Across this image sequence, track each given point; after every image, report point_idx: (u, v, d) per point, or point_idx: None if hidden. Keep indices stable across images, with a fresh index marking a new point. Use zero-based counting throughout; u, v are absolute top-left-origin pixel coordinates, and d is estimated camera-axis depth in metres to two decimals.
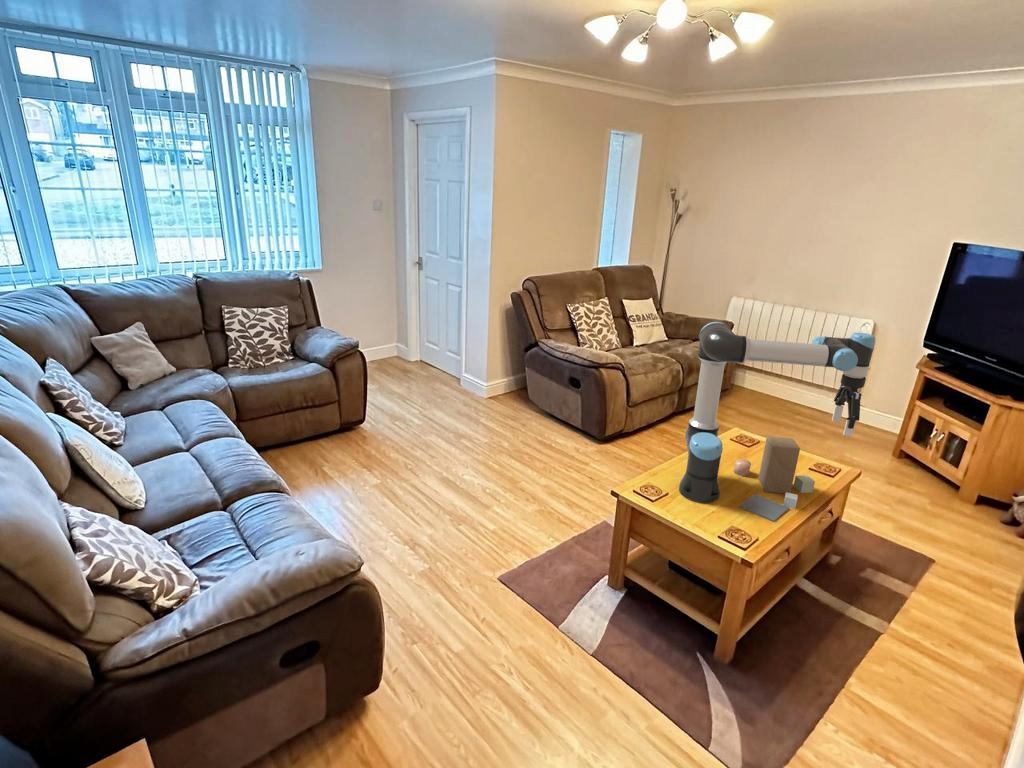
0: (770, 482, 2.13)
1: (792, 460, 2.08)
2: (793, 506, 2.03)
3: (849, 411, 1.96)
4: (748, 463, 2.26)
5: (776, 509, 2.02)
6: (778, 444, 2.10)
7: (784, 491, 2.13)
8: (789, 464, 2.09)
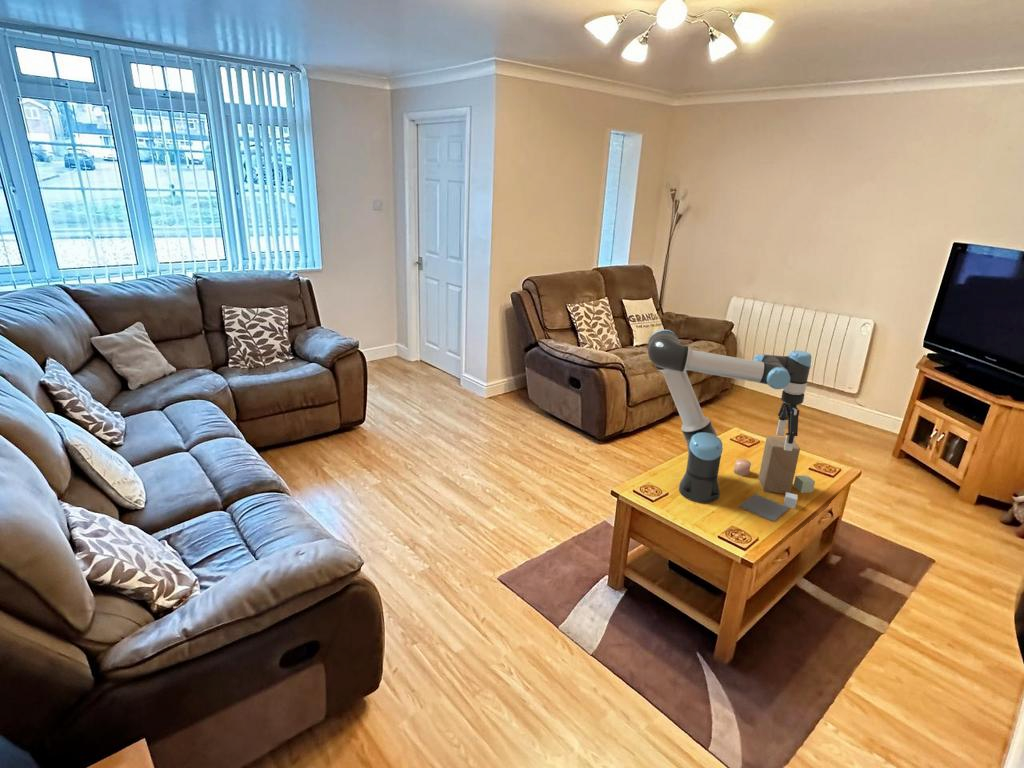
0: (770, 482, 2.13)
1: (792, 460, 2.08)
2: (793, 506, 2.03)
3: (788, 426, 2.03)
4: (748, 463, 2.26)
5: (776, 509, 2.02)
6: (778, 444, 2.10)
7: (784, 491, 2.13)
8: (789, 464, 2.09)
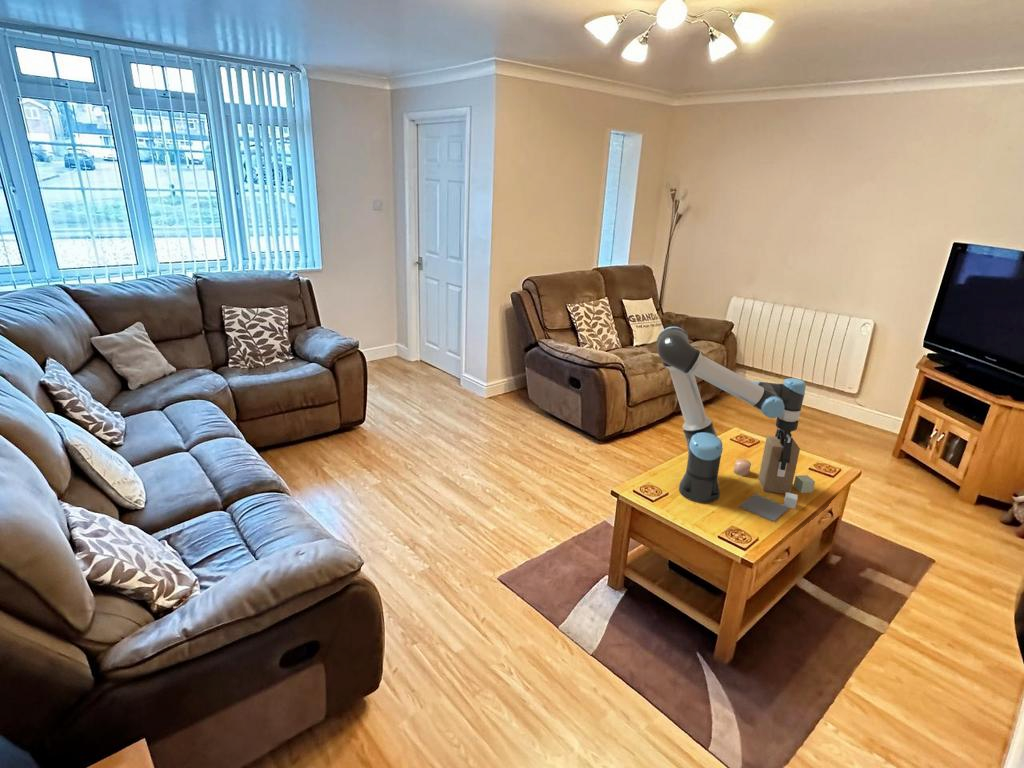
0: (770, 482, 2.13)
1: (792, 460, 2.08)
2: (793, 506, 2.03)
3: (781, 453, 2.08)
4: (748, 463, 2.26)
5: (776, 509, 2.02)
6: (778, 444, 2.10)
7: (784, 491, 2.13)
8: (789, 464, 2.09)
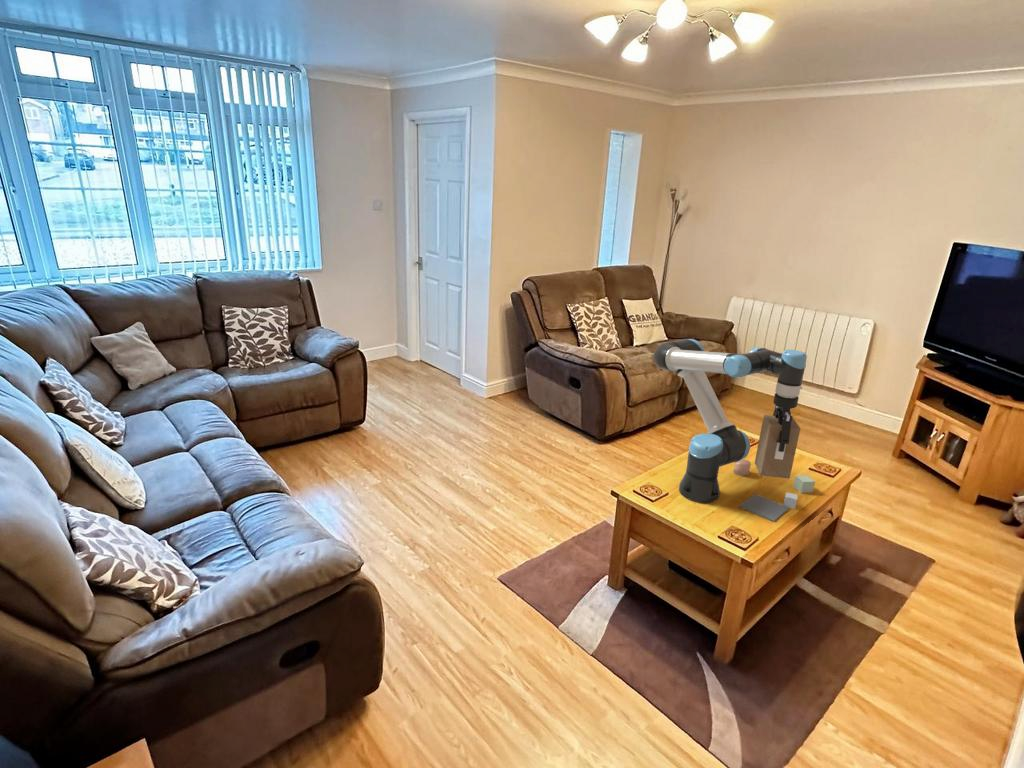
0: (768, 466, 1.93)
1: (791, 441, 1.88)
2: (793, 506, 2.03)
3: (780, 433, 1.88)
4: (748, 463, 2.26)
5: (776, 509, 2.02)
6: (776, 423, 1.89)
7: (783, 475, 1.93)
8: (789, 445, 1.89)
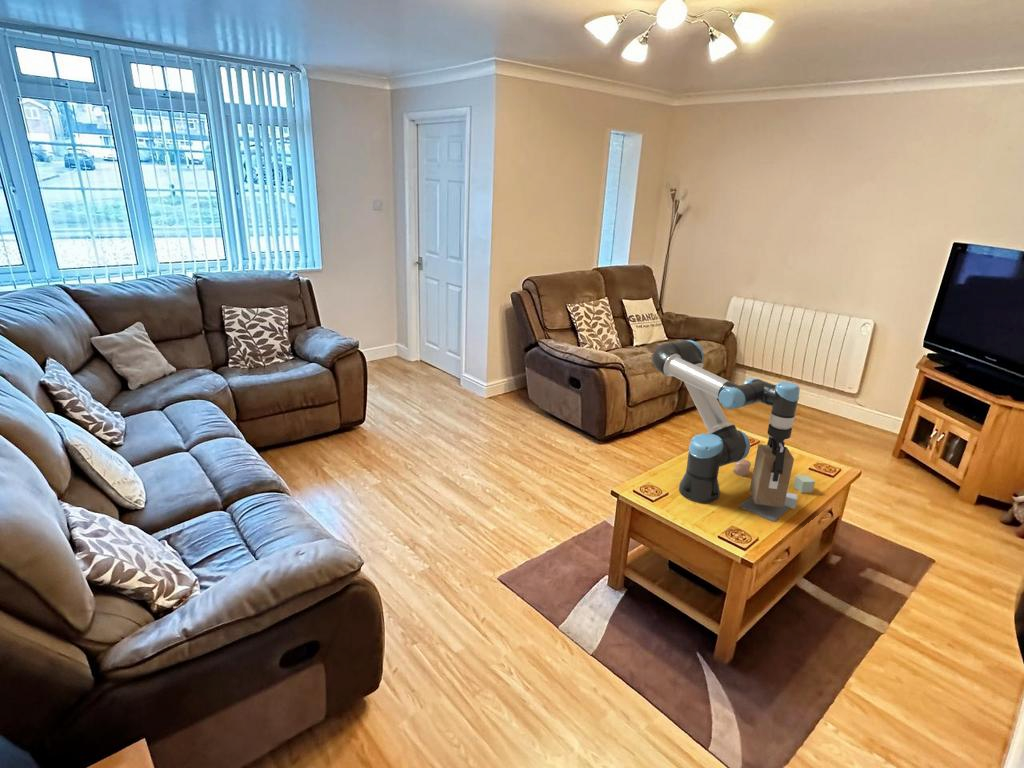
0: (762, 494, 1.97)
1: (785, 471, 1.92)
2: (793, 506, 2.03)
3: (773, 464, 1.91)
4: (748, 463, 2.26)
5: (776, 509, 2.02)
6: (770, 453, 1.93)
7: (777, 504, 1.97)
8: (783, 475, 1.93)
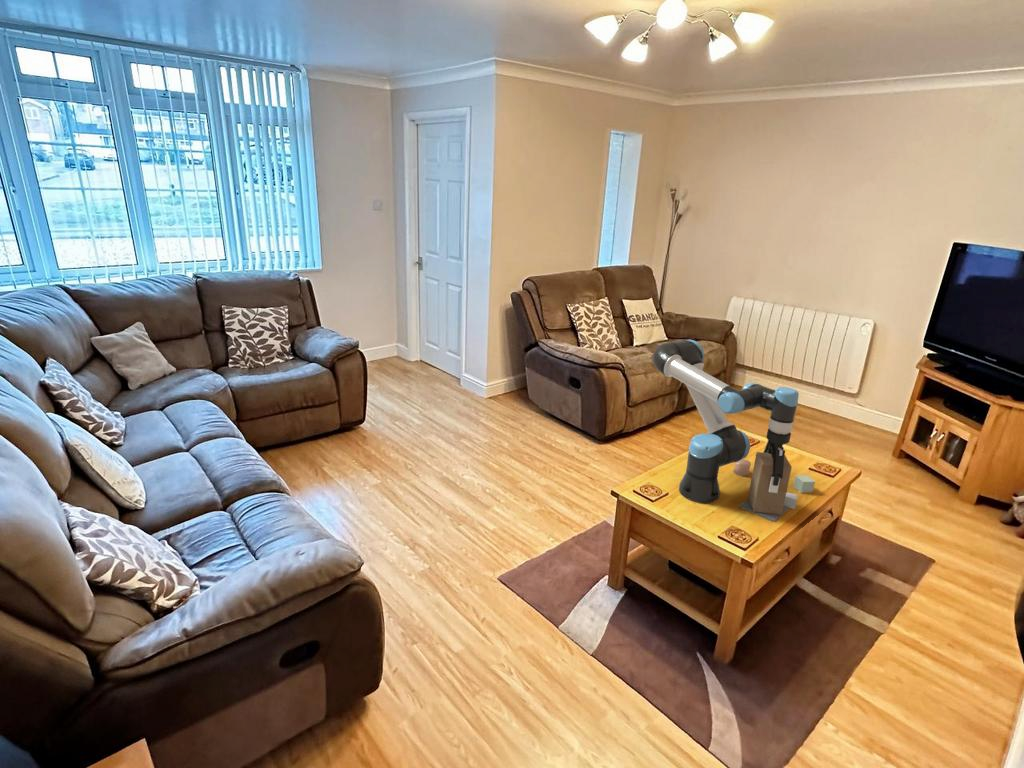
0: (760, 502, 1.98)
1: (783, 479, 1.93)
2: (793, 506, 2.03)
3: (773, 468, 1.91)
4: (748, 463, 2.26)
5: None
6: (768, 461, 1.94)
7: (775, 512, 1.98)
8: (780, 483, 1.94)
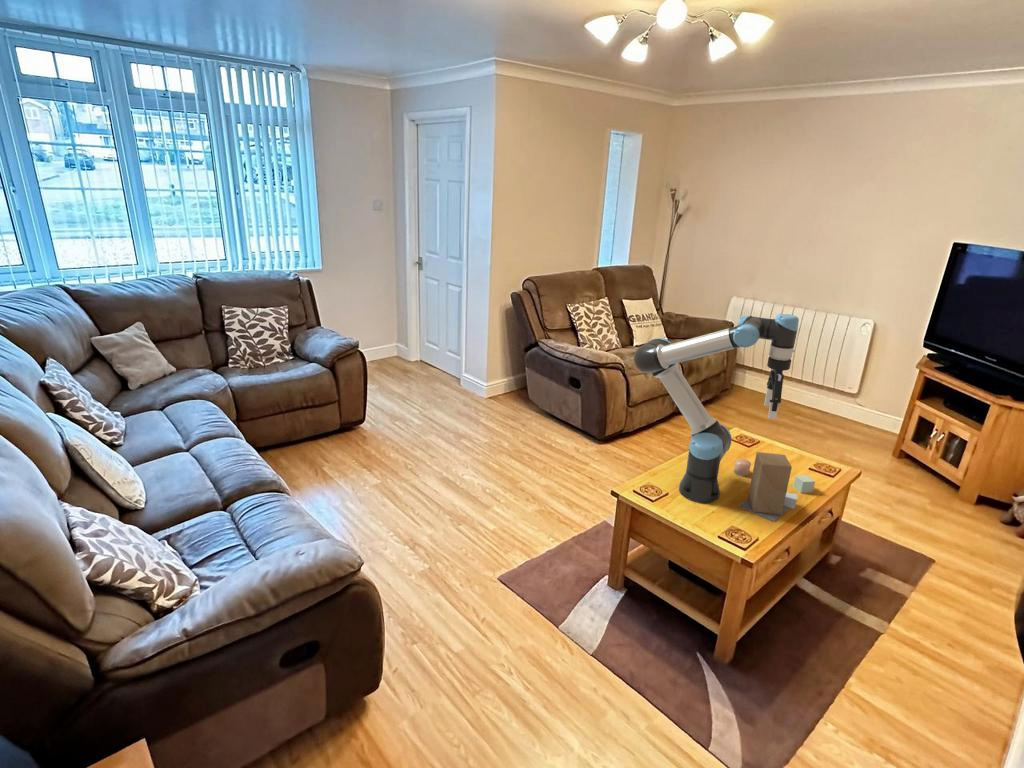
0: (760, 502, 1.98)
1: (783, 479, 1.93)
2: (793, 506, 2.03)
3: (772, 393, 1.94)
4: (748, 463, 2.26)
5: None
6: (768, 461, 1.94)
7: (775, 512, 1.98)
8: (780, 483, 1.94)
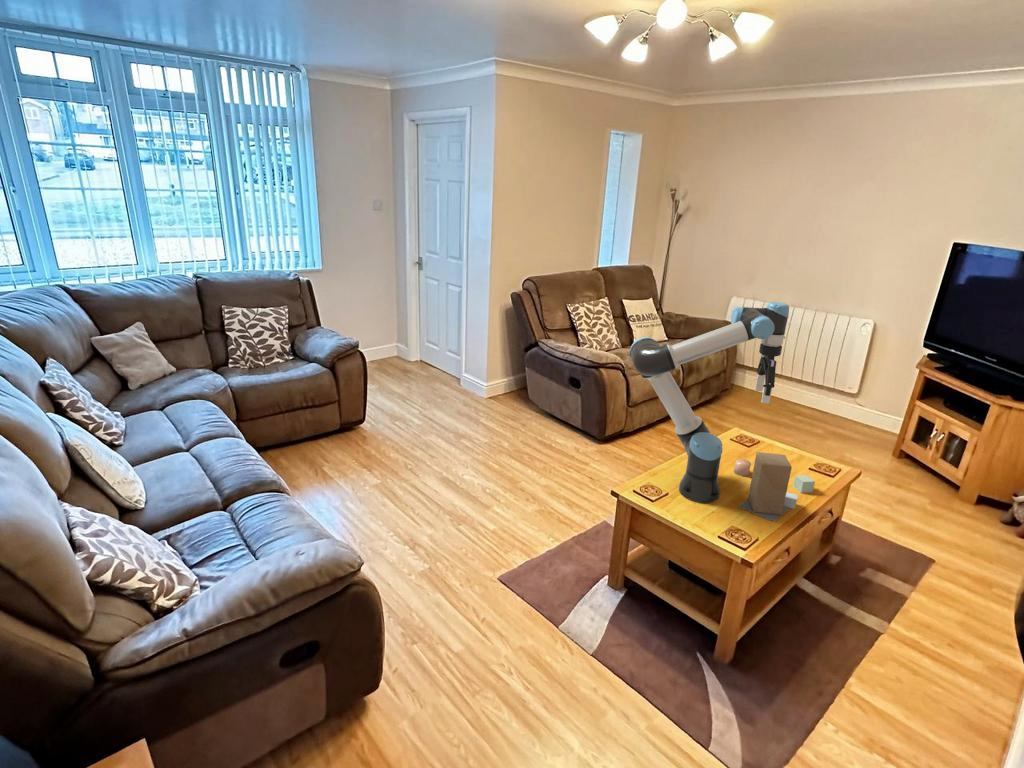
0: (760, 502, 1.98)
1: (783, 479, 1.93)
2: (793, 506, 2.03)
3: (766, 378, 2.02)
4: (748, 463, 2.26)
5: None
6: (768, 461, 1.94)
7: (775, 512, 1.98)
8: (780, 483, 1.94)
